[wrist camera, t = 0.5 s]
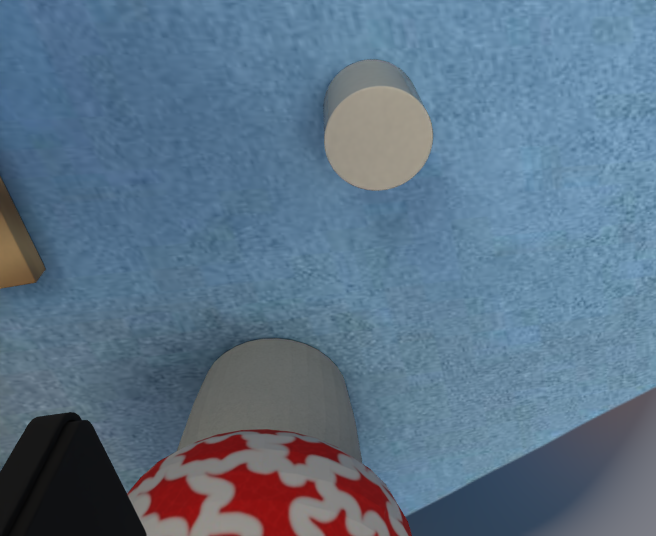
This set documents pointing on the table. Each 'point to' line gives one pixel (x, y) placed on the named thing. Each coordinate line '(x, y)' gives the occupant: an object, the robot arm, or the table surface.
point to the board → (16, 247)
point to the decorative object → (268, 455)
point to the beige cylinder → (375, 126)
